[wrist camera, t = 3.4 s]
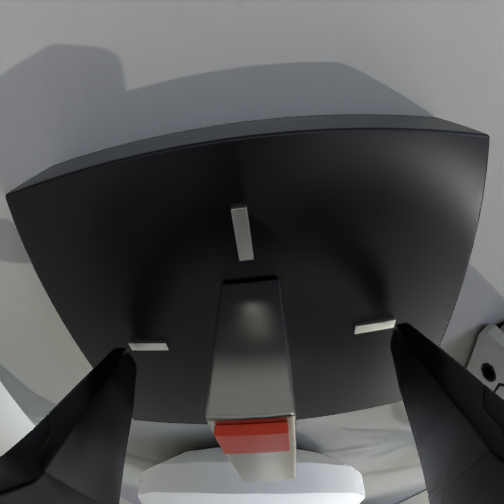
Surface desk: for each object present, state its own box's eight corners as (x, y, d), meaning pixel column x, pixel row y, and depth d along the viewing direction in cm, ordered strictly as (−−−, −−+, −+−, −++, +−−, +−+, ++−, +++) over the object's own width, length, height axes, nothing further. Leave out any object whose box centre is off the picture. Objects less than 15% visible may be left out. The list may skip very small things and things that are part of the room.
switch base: (145, 376, 15) (132, 422, 13) (52, 165, 9) (0, 197, 6) (397, 353, 14) (416, 400, 12) (437, 117, 8) (494, 136, 6)
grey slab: (288, 378, 10) (297, 486, 7) (244, 382, 10) (242, 489, 7) (280, 277, 8) (298, 426, 4) (220, 283, 8) (202, 430, 4)
